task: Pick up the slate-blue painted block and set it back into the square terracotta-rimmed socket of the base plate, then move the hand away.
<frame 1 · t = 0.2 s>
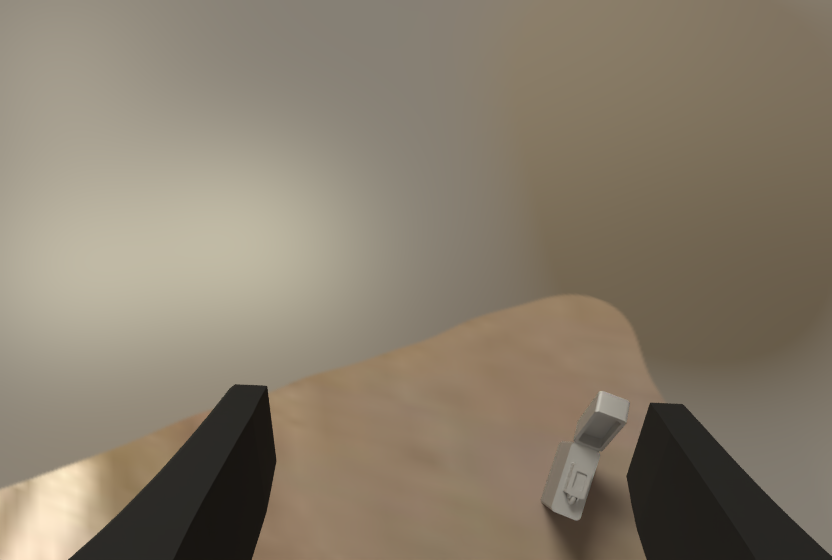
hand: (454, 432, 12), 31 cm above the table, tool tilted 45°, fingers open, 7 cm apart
lighter: (569, 453, 41), on the table
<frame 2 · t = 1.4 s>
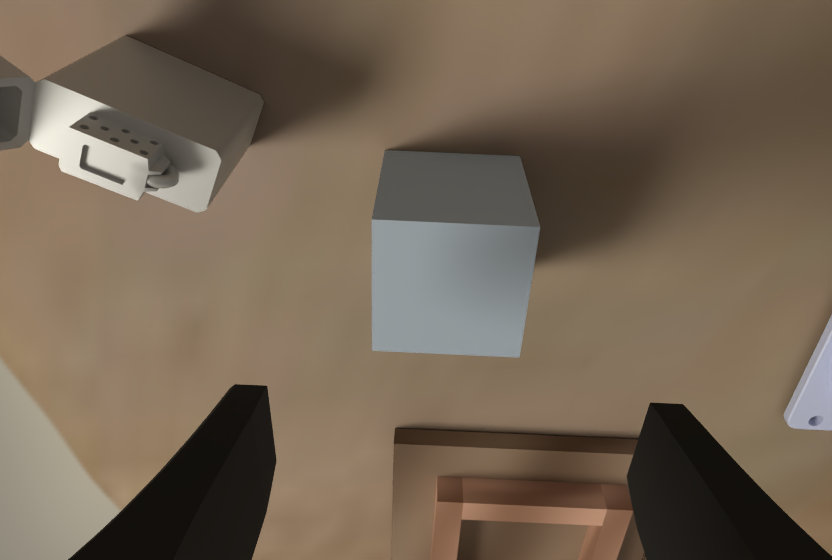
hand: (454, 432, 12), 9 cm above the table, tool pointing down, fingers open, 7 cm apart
block: (448, 212, 20), on the table
lighter: (137, 69, 18), on the table
base plate: (517, 522, 28), on the table
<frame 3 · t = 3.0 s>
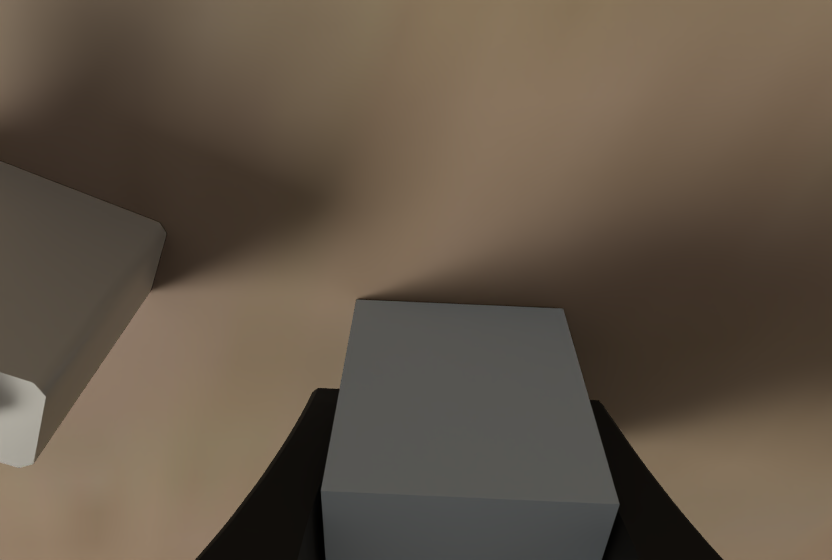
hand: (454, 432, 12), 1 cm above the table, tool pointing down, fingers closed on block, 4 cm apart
block: (452, 381, 13), on the table, touching gripper
when the fingers open (3 cm above the table, at t = 7.5 s): block stays where it is, resting on base plate.
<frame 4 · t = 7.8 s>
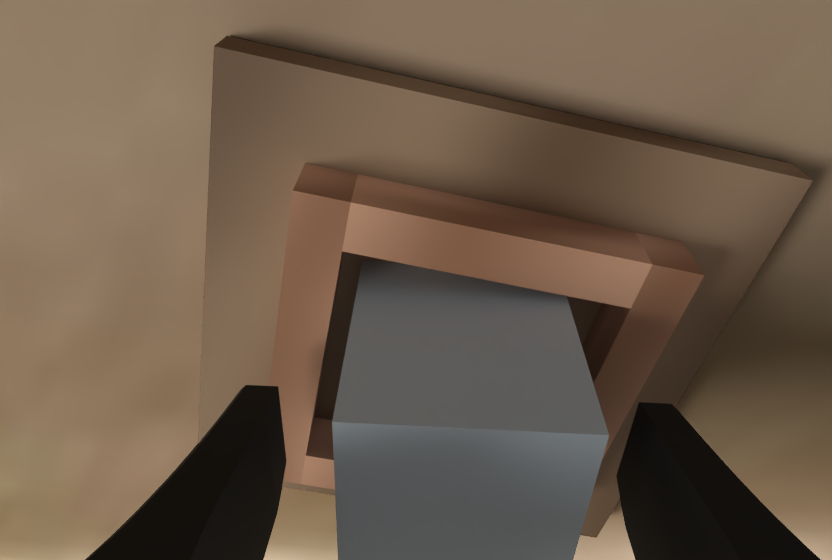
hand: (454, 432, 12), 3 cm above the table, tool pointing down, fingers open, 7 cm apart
block: (453, 342, 14), point 1 cm above the table, touching base plate
base plate: (451, 330, 15), on the table
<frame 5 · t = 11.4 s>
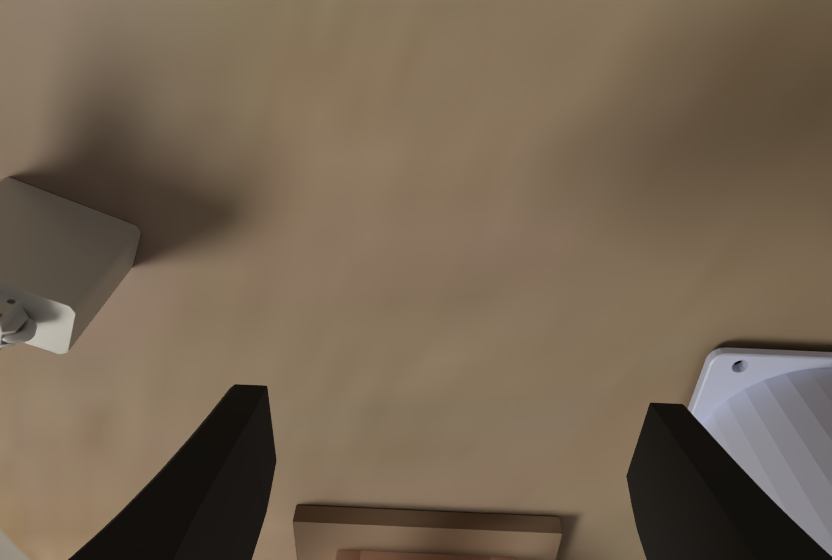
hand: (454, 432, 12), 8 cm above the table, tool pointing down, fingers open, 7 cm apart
lighter: (23, 203, 19), on the table
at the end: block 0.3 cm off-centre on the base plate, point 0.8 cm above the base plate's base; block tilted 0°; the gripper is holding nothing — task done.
